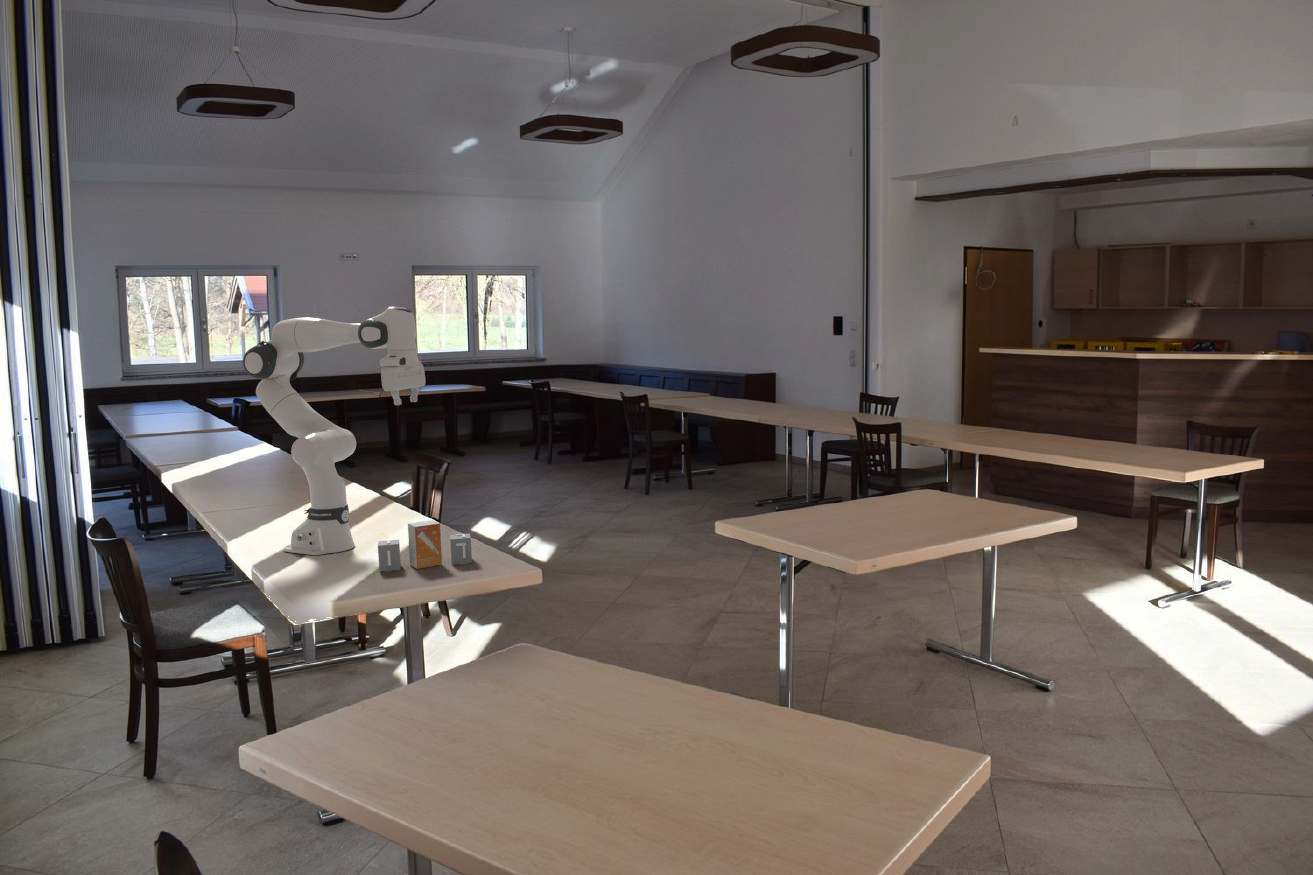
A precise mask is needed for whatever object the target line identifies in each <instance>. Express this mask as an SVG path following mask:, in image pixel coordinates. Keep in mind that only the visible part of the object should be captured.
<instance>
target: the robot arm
mask: <svg viewBox="0 0 1313 875" xmlns="http://www.w3.org/2000/svg"><path fill="white" fill-rule="evenodd" d="M416 328H417V327H416V320H415V315H414V313H413V311H412V310H411V309H410V308H408V307H403V306H396V305H395V306H388V307H387V308H386V309H385V310H384V311H382V312H381V313H380V314H378V315H375V316H373V317H371V318H367V319H364V320H363V321H361V323H348V322H341V321H335V320H329V319H324V318H318V317H295V318H288V319H284V320H281V321H278V322H277V323H276V324H274V326H273V327H272V330H271V339H270V340H268V341H267V340H261V341H260V342H258V343H257V344H256V345H254V346H252V347H251V348H249V349H248V350H247V351H246V352H245V353H244V355H243V358H242V365H243V369H244V371H245V372H246V373H247V374H248V375H249V376H250V377H252V378H255V379H258V380H260V381H259V383H257V386H256V389H255V394H256V397H257V398H258V401H259V403H261V405H262V407H263V408H264V409H265V411H266V412H267V413H268V414H269V415H270V417H272V418H273V419H274V420H275V422H276V423H277V424H278V425H279V426H280V427H281V428H282V430H284V431H285V432H286V433H287V434H288V435H290V436H292V437H296V438H297V439H296V440H295V441H294V442H293V444H292V446H291V450H290V453H291V457H292V460H293V461H294V462H295V463H296V464H297V465H298V466H299V467H300V468H301V469H302V471H303V472H304V475H305V476H306V479H307V483H308V487H309V496H310V507H309V508H308V509H305V510H304V515H306V514H307V516H306V517H307V518H306V519H305V520H304V521H303V522H302V523H300V524H299V525H298V526H297V527H296V528H295V529H294V530H293V531H292V532H291V538H290V544H288V545H286V546H284V549H283V551H284V552H285V553H287V552H288V553H292V554H293V553H294V554H301V555H309V556H310V555H311V556H320V555H325V554H326V555H327V554H330V553H331V554H333V553H334V554H335V553H339V552H340V553H341V552H345V551H348V550H351V549H353V548H355V547H356V545H355V541H354V539H353V535H352V531H351V527H350V521H349V520H350V509H349V504H348V501H347V491H346V490H347V489H346V488H347V487H346V482H345V480H344V478H342V477H341V476H340V475H339V473H338V472H337V469H336V466H335V465H336V464H335V463H337V462H340V461H341V462H342V461H344V460H346V459H347V458H348V457H350V456H351V455H353V454H354V452H355V451H356V447H357V440H356V437H355V435H354V434H353V432H352V431H350V430H348V429H345V428H342V427H340V426H338V425H336V424H335V423H333V422H332V421H330V420H328V419H327V418H325V417H324V416H323V415H321V414H320V413H319V412H317V411H316V410H315V409H314V408H312V407H311V405H310V404H309V403H308V402H307V401H306V400H305V399H303V397H302V396H301V395H300V394H299V392H297V391H296V390H295V389H294V388H293V387H292V385H291V383H290V382H293V381H295V380H296V378H297V377H298V374H299V373H300V372H301V371H302V369H303V367H304V363H305V355H304V353H313V352H315V353H316V352H320V351H321V352H322V351H325V350H329V349H334V348H337V347H342V346H346V345H349V344H350V345H351V344H361V345H362V346H364V347H365V348H367V349H371V350H379V349H381V350H382V349H387V353H386V355H385V356H384V357H382V358H380V359H379V366H380V367H381V370H380V377H381V379H380V380H381V387H382V389H383V390H384V392H390V395H391V397H392V399H393V405H395V406H400V405H402V398H400V391H403V390H409V389H410V391H411V395H410V396H409V401H410V402H411V403H417V402H418V395H419V392H420V388H421V387H424V386H425V385H426V375H425V374H426V373H425V367H424V364H422V361H421V360H420V358H419V356H418V347H417V343H416V337H417V329H416Z"/></svg>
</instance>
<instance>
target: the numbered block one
mask: <svg viewBox="0 0 1313 875" xmlns="http://www.w3.org/2000/svg"><path fill="white" fill-rule="evenodd" d="M400 548H401V547H400V539H389V540H378V543H377V551H378V552H377V554H378V556H377V557H378V565H379V566H378V567H379V568H378V569H379V573H382V572H381V571H385V572H393V571H392V570H396V571H401V565H402V564H401V550H400Z"/></svg>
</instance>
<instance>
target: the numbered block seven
mask: <svg viewBox="0 0 1313 875" xmlns="http://www.w3.org/2000/svg"><path fill="white" fill-rule="evenodd" d="M471 538H472V537H471V533H456V534H449V540H450V541H449V543H450V546H449V547H450V558H451V565H452V564H460V563H472V564H473V556H472V553H473V552H472V539H471ZM460 565H461V564H460Z"/></svg>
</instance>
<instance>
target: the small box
mask: <svg viewBox="0 0 1313 875" xmlns="http://www.w3.org/2000/svg"><path fill="white" fill-rule="evenodd" d="M407 534H408V552H409V564H410V566H411V567H413V568H414V569H417V570H418V569H424V568H430V567H436V565H438V566H441V565H443V558H442V542H441V541H442V537H441V523H440V522H438V521H436V520H433V519H430V520H423V521H422V520H421V521H416V522H409V523H407Z"/></svg>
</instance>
